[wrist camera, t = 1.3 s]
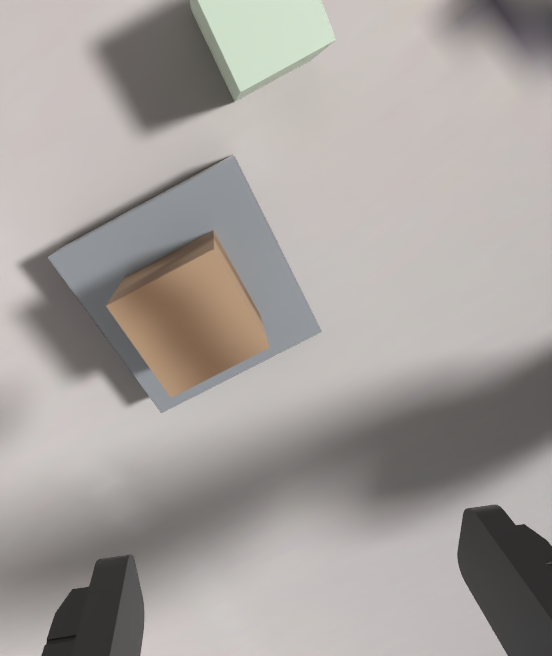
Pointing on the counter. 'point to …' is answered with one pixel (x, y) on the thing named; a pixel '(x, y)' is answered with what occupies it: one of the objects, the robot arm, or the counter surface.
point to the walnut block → (189, 315)
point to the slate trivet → (173, 233)
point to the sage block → (261, 38)
